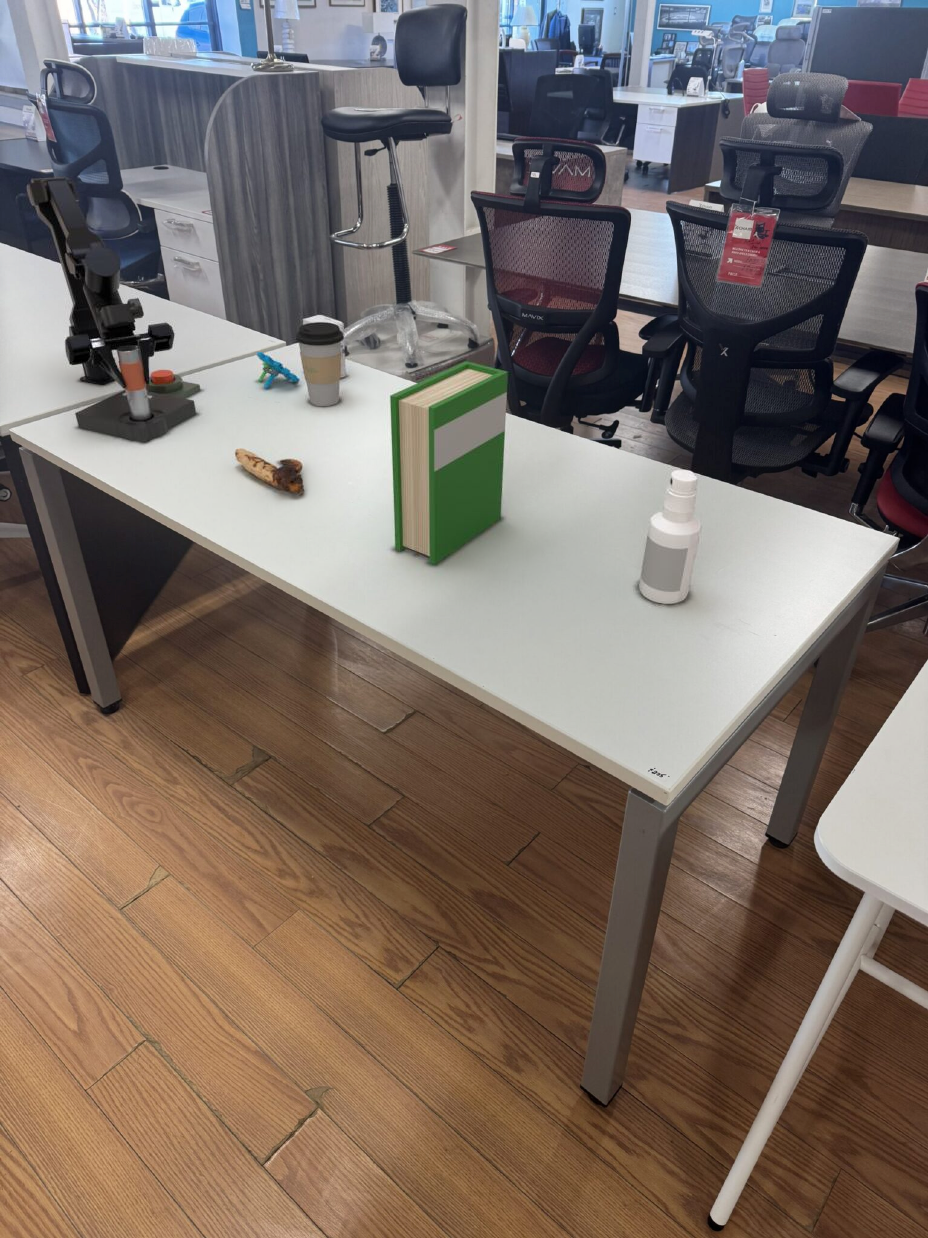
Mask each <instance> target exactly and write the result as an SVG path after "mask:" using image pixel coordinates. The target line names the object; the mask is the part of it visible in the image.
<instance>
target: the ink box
mask: <svg viewBox="0 0 928 1238" xmlns="http://www.w3.org/2000/svg"><path fill="white" fill-rule="evenodd" d="M314 322H327V323H333V324H336V325H338V326H339V329H340V331H342V333H343V336H344V337H345V323H343V321H340V320H338V319H335V318H332V317H329V316H326V315H323V314H317V315H314V316H309V317H306V318H302V325H304V324H308V323H314ZM345 344H346V343H345V338H344V339H343V340H342V341H341V376H340V379H343V378H345V377H346V376H347V374H346V373H347V371H346V369H347V368H346V348H345V347H346V345H345Z"/></svg>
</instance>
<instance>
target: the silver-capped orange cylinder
mask: <svg viewBox="0 0 928 1238" xmlns="http://www.w3.org/2000/svg"><path fill="white" fill-rule="evenodd" d="M116 354H117V358H118V368H119V370H120V372H121V374H122V377H123V379H124V382H125V385H126V388H125V389H124V390H126V393H124V394H122V396H127V399H128V400H127V402H128V404H129V408H130V413H131V417H132V419H133V420H136V421H143V420H147V419H150V418H151V417H152V415H151V410H150V405H149V400H148V398H149V399H150V398H151V397H152V396H150V395H147V390H146V382H145V377H144V372H143V367H142V362H141V359H140V357H139V352H138V347H137V346H133V345H126V346H121V347H118V348H117V350H116Z"/></svg>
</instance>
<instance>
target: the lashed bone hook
mask: <svg viewBox="0 0 928 1238" xmlns="http://www.w3.org/2000/svg"><path fill="white" fill-rule="evenodd" d="M234 455H235V459H236V461H237V462H238V463H239V464H240V465H241V466H243V468H244V469H245V470H246V471H248V472H249V473H250V474H252V475H254V476H256V477H257V478H258V479H260V480H261V481H263V482H265V483H267V484H269V485H271V486H273V487H275V488H277V489H279V490H282V491H284V492H287V493H291V494H294V495H300V494H302V493H304V492H305V489H304V486H305V485H304V479H303V477H302V475H301V474H300V473H301V471H302V469H303V463H302V462H301V461H300V460H298V459H294V458H284V459H281V460H280V461H279V462H280V463H281V464H282V465H281V466H279V467H277V466H276V465H275V464H273V463H271V462H268V461H267V460H265V459H264V458H262V457H259V456H258V455H257V454H255V453H254V452H251V451H249V450H247V449H244V448H237V449H235V451H234Z"/></svg>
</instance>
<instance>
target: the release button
mask: <svg viewBox="0 0 928 1238" xmlns="http://www.w3.org/2000/svg"><path fill="white" fill-rule="evenodd" d="M173 374H174V372H173V371H172V370H170V369H157V370H154V371H152V372H151V373H150V376H151V379H152V383H155V384H166V383H171V382H173V381H174V376H173Z"/></svg>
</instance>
